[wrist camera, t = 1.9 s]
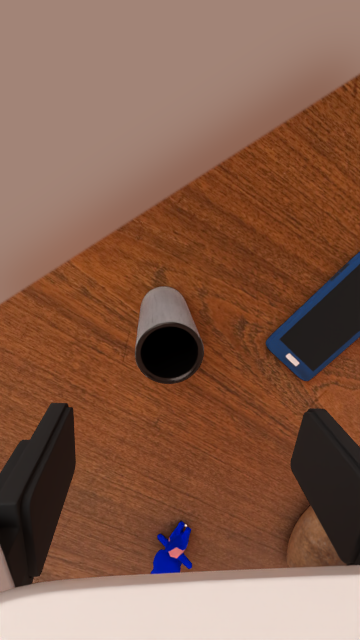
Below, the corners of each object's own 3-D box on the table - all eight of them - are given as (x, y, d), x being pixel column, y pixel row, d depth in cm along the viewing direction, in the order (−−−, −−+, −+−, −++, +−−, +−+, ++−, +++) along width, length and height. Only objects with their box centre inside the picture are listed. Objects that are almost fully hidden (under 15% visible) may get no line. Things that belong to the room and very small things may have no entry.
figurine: (148, 552, 40) (148, 594, 35) (163, 514, 38) (164, 553, 33) (180, 555, 40) (183, 597, 36) (196, 518, 38) (201, 557, 34)
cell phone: (262, 343, 30) (264, 346, 29) (365, 244, 27) (371, 245, 27) (302, 380, 32) (306, 384, 31) (402, 293, 30) (408, 294, 29)
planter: (136, 291, 27) (127, 329, 17) (182, 281, 27) (198, 315, 17) (146, 333, 28) (143, 390, 19) (189, 324, 29) (208, 377, 19)
